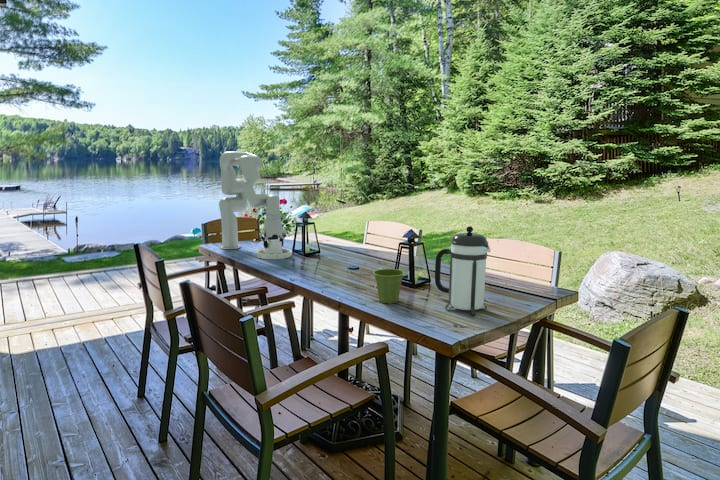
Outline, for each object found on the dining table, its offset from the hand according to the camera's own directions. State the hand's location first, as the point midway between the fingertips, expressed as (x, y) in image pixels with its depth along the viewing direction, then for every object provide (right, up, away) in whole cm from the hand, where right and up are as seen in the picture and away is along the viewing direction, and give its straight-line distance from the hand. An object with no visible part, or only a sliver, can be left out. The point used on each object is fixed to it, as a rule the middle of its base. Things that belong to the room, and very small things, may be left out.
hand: (273, 246), depth 247 cm
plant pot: (+60, -19, -83) cm, 104 cm away
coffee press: (+86, -21, -92) cm, 128 cm away
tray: (0, -5, +1) cm, 5 cm away
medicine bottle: (0, -4, +1) cm, 4 cm away
